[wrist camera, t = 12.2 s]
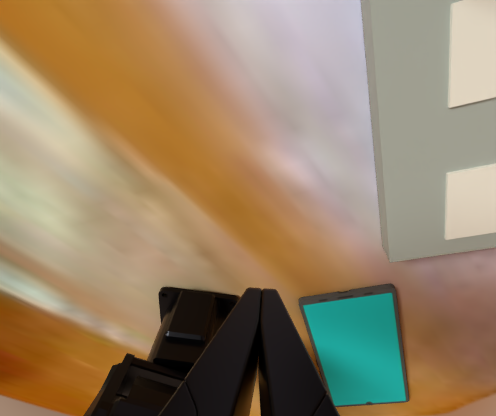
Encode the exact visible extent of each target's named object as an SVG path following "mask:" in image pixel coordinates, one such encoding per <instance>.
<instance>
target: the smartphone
mask: <svg viewBox="0 0 496 416" xmlns="http://www.w3.org/2000/svg"><path fill="white" fill-rule="evenodd" d="M299 307H300V310H301V313H302V316H303V319H304V322H305V325H306V328H307V331H308V334H309V338H310V341H311V344H312V347H313V350H314V353H315V356H316V361H317V364H318V367H319V369H320V373H321V377H322V380H323V383H324V386H325V388H326V390H327V393H328V394H329V395H330V397H331V399H332V401H333V403H334V405H335V407H345V406H359V405H374V404H388V403H403V402H408V401H409V395H408V387H407V378H406V370H405V362H404V354H403V346H402V337H401V329H400V321H399V313H398V305H397V296H396V290H395V288H394V286H393V285H392V284H385V285H378V286H372V287H365V288H359V289H352V290H349V291H347V292H333V293H327V294H320V295H314V296H307V297H302V298H300V299H299Z"/></svg>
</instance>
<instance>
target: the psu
mask: <svg viewBox="0 0 496 416" xmlns="http://www.w3.org/2000/svg"><path fill="white" fill-rule="evenodd" d="M361 10H362V21H363V32H364V44H365V55H366V66H367V78H368V89H369V100H370V112H371V123H372V135H373V146H374V157H375V169H376V180H377V191H378V203H379V214H380V225H381V237H382V246H383V248H384V251H385V253H386V255H387V257H388V259H389V262H390V263H391V262H398V261H405V260H412V259H419V258H425V257H432V256H439V255H446V254H453V253H460V252H467V251H474V250H481V249H488V248H495V247H496V0H361Z"/></svg>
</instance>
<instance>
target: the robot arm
mask: <svg viewBox="0 0 496 416" xmlns="http://www.w3.org/2000/svg"><path fill="white" fill-rule="evenodd" d="M165 293H166V294H165ZM231 301H233V302H231ZM159 305H160V316H161V326H160V329H159V331H158V334H157V336H156V339H155V341H154V344H153V346H152V349H151V351H150V354H149V356H148V359H147V361H146V360H143V359H140V358H136V357H134V356H135V355H132V354H128V353H127V354H126V356H125V358H124V360H123V362H122V363H119V364H117V365H113V366H112V368H111V370H110V372H109V374H108V376H107V378H106V380H105V382H104V384H103V386H102V388H101V390H100V391H99V393H98V394H97V396H96V398H95V399H94V401H93V402H92V404H91V405H90V407H89V408H88V410H87V411H86V413H85V414H84V416H249V414H250V409H251V403H252V397H253V392H254V386H255V381H256V375H257V368H258V374H259V392H260V409H261V416H340V415H339V413H338V411H337V409H336V407H335V405H334V403H333V401H332V399H331V397H330V395H329V394H327V390H326V388H325V386H324V384H323V382H322V380H321V378H320V376H319V374H318V372H317V370H316V368H315V366H314V364H313V362H312V360H311V358H310V356H309V354H308V352H307V350H306V348H305V346H304V344H303V342H302V340H301V338H300V336H299V334H298V332H297V329H296V327H295V325H294V323H293V321H292V319H291V317H290V315H289V313H288V311H287V309H286V307H285V305H284V303H283V301H282V299H281V297H280V295H279V293H278V291H277V290H275V289H263V290H261V289H260V288H247V289H246V291H245V292H244V294H243V295H242V296H241V298H240V299H238V297H236V296H233V295H225V294H217V293H209V292H201V291H193V290H185V289H177V288H169V287H163V288H161V289H160V291H159ZM258 356H259V361H258Z"/></svg>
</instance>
